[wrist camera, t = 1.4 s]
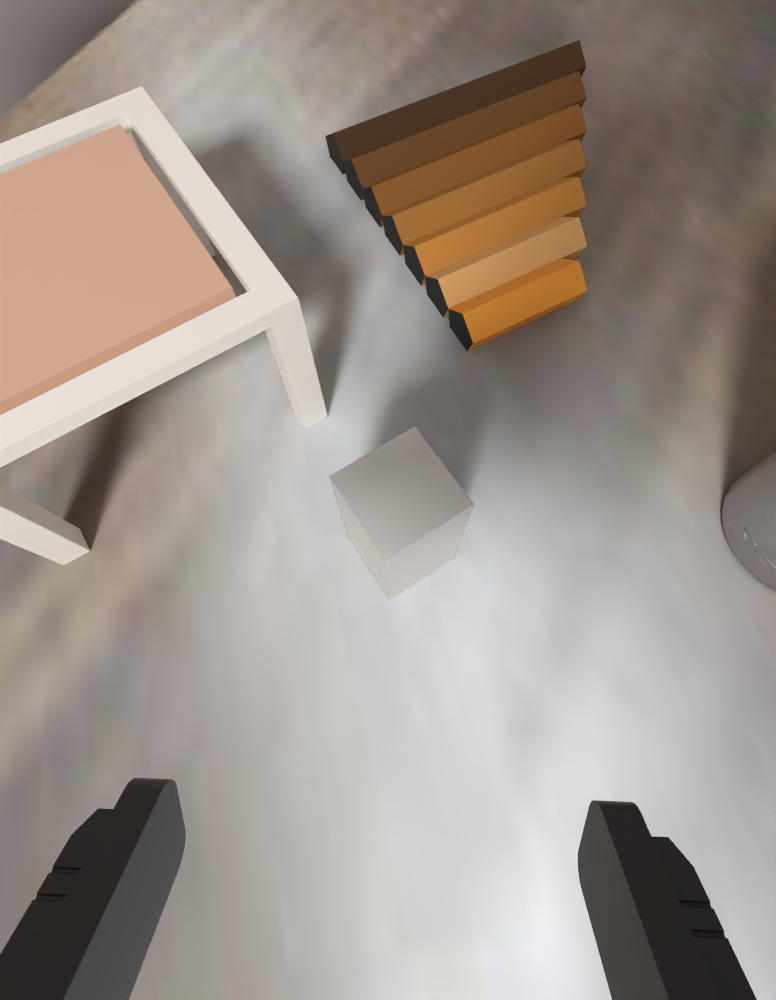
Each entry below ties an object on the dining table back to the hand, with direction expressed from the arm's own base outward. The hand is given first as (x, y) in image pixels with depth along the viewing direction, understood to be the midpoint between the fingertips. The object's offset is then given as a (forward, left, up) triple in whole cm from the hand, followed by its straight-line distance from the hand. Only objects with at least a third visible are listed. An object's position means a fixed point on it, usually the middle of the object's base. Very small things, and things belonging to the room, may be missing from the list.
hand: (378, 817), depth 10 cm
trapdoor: (+2, -31, -11) cm, 33 cm away
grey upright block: (-7, -10, -22) cm, 25 cm away
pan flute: (-33, -30, -22) cm, 50 cm away
